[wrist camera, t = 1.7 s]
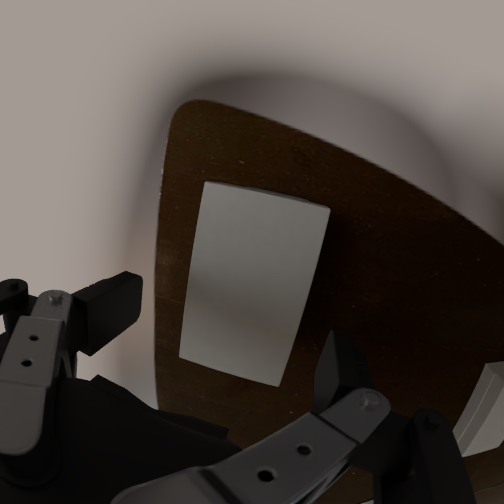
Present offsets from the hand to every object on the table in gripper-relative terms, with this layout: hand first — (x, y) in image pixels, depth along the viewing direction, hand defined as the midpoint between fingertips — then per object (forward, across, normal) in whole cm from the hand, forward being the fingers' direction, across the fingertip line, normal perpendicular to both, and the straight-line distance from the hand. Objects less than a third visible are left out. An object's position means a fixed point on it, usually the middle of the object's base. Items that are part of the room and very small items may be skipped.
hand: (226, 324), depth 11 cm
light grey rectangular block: (+6, 0, 0) cm, 6 cm away
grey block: (+10, -27, +9) cm, 30 cm away
